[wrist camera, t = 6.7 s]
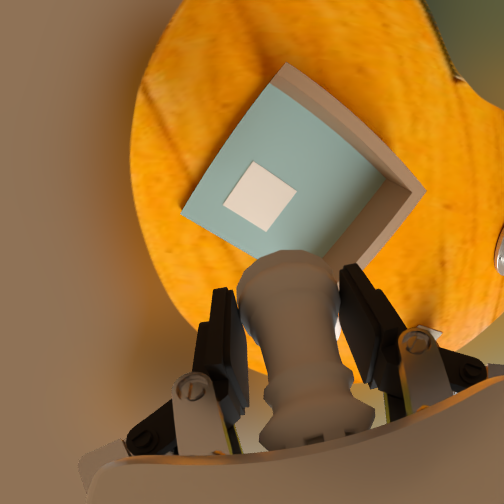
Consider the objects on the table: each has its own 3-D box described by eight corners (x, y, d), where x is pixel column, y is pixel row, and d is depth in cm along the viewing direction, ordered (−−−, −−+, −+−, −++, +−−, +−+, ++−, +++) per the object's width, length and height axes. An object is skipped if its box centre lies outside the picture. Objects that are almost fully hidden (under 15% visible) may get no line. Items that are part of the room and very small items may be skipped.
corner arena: (394, 175, 25) (426, 190, 20) (305, 283, 31) (317, 317, 26) (275, 74, 21) (286, 61, 15) (182, 210, 26) (168, 235, 21)
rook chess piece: (346, 296, 13) (413, 442, 6) (268, 337, 14) (286, 487, 6) (305, 223, 11) (395, 399, 4) (215, 277, 12) (197, 461, 5)
